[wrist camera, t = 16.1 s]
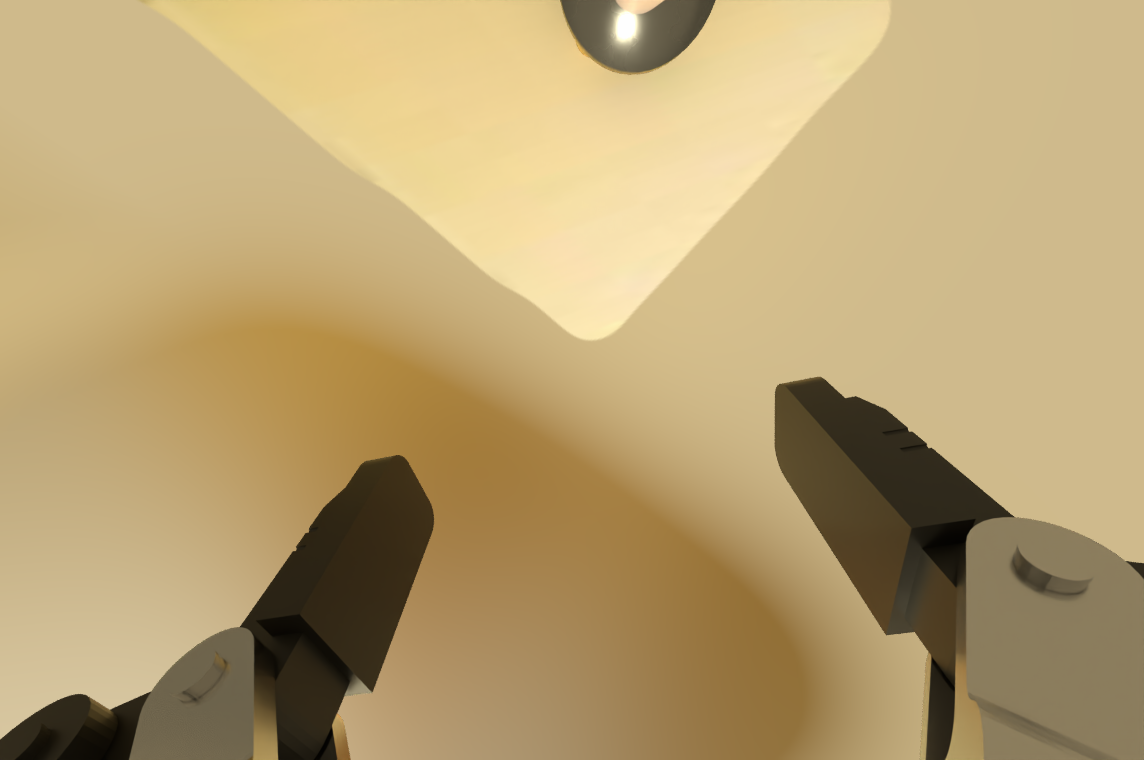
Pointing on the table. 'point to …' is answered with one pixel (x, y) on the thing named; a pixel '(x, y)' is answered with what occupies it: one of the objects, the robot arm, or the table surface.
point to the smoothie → (638, 5)
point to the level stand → (634, 32)
